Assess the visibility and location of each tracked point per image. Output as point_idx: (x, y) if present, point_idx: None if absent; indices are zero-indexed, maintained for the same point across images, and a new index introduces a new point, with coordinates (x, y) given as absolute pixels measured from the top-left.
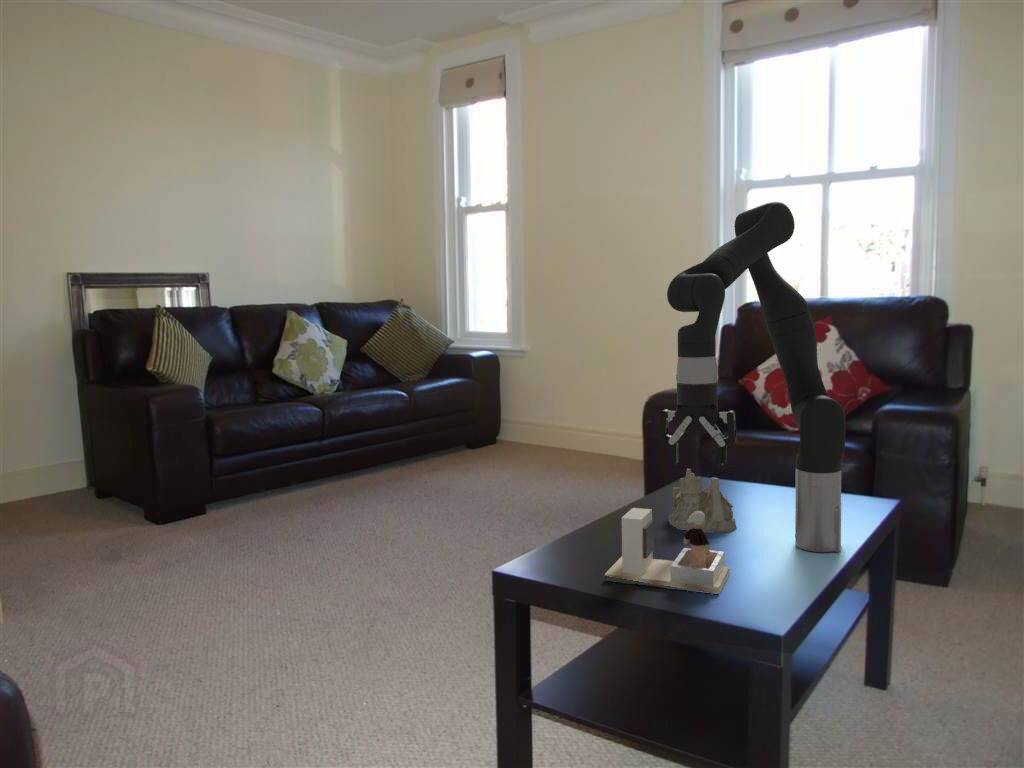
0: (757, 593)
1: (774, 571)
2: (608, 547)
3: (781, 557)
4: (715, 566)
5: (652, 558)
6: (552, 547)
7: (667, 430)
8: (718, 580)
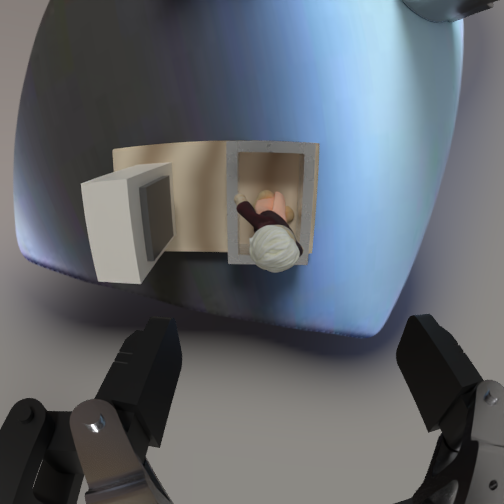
0: (364, 222)
1: (385, 111)
2: (79, 85)
3: (386, 39)
4: (308, 240)
5: (169, 163)
6: (19, 134)
7: (35, 473)
8: None
